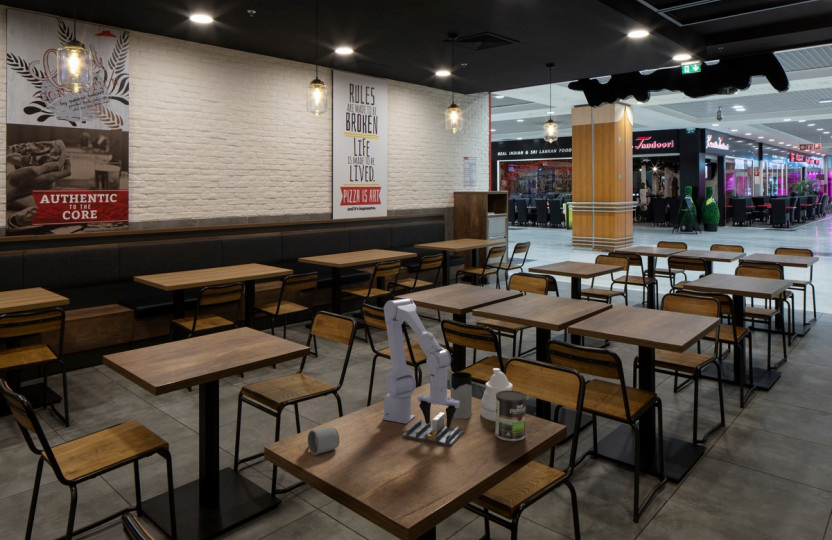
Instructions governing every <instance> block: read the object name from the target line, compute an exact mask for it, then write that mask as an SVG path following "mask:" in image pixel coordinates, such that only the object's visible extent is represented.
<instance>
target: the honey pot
mask: <svg viewBox="0 0 832 540" xmlns="http://www.w3.org/2000/svg"><path fill="white" fill-rule="evenodd" d="M492 372H493V374H492V376H491V377H490V379H489V380H488V381H487V382H485V387H486V388H485V390H484V392H483V395H482V398H481V400H480V415H481V417H482V418H483V419H486V420H489V421H492V422H496V393H497V392H500V391H507V390H510V391H513V389H512V388H513V387H514V386H513V383H511V382H510V381H509V379H508V377H507V376H506V374H505V373H504V372H502V371H501V369H500V368H497V367H495V368H492Z"/></svg>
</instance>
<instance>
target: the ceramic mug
mask: <svg viewBox="0 0 832 540" xmlns="http://www.w3.org/2000/svg"><path fill="white" fill-rule="evenodd" d="M339 435H340V434H339V432H338V430H337V428H335V427H333V426H327V427H321V428H315V429H311V430H309V432H308V434H307V445H308V449H309V451H310V453H311V454H312V455H314V456H316V455H321V454H324V453H327V452H331V451H333V450H336V449H337V448H338V447H339V445H340V436H339Z"/></svg>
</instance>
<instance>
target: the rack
mask: <svg viewBox="0 0 832 540" xmlns="http://www.w3.org/2000/svg"><path fill="white" fill-rule="evenodd" d="M463 434H464V430H463V429H461V427H460V425H457V426H456V427H455V428H453V427H451V426H450V427H449V428H447V424H445V425H444V428H443V429H442V430H441V431H440V432H439V433H438V434H437V435H436V437H435V436H433V435H432V420H430V422H429V423H428V424H426V422H423V420H422V418H419V419H418V420H416V421H415V422H414V423H413V424H411V425H410V426H409V427H408V428H407V429H406V430H405V432H404V433H403V434H402V438H405V439H410V440H413V441H419V442H425V443H429V444H434V445H440V446H445V447H452V446H453V444H455V442H456V441H457V440H458V439H459V438H460V437H461V436H462V435H463Z"/></svg>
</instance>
